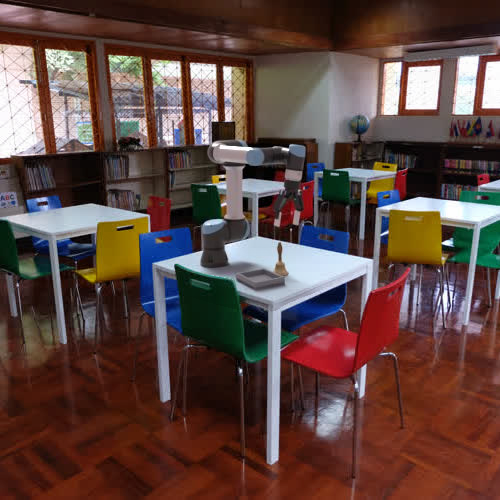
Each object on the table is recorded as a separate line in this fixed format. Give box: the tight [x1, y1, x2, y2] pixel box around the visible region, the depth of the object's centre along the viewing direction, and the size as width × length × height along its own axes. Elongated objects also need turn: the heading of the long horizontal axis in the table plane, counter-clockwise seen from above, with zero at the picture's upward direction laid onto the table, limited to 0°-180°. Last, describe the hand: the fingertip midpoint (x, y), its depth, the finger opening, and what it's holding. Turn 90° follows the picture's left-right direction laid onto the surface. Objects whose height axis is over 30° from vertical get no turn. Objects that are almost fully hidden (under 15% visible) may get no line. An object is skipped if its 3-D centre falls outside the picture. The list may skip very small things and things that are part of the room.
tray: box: [235, 267, 286, 291], centre depth 235 cm, size 18×16×4 cm
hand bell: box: [272, 241, 289, 277], centre depth 247 cm, size 8×8×16 cm
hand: (286, 225), depth 230 cm, fingers open, 13 cm apart
